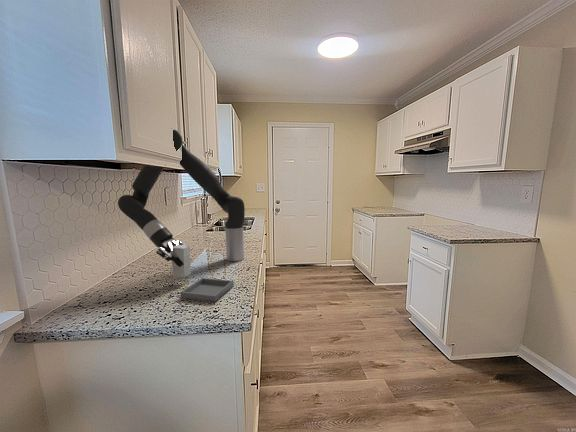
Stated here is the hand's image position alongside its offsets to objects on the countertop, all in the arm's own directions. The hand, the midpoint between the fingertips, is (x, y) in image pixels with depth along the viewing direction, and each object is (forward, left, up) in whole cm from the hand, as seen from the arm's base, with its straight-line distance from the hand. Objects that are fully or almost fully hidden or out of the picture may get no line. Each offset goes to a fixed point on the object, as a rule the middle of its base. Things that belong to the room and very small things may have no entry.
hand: (185, 263), depth 106 cm
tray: (+5, +13, -9) cm, 17 cm away
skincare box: (0, -2, -5) cm, 6 cm away
